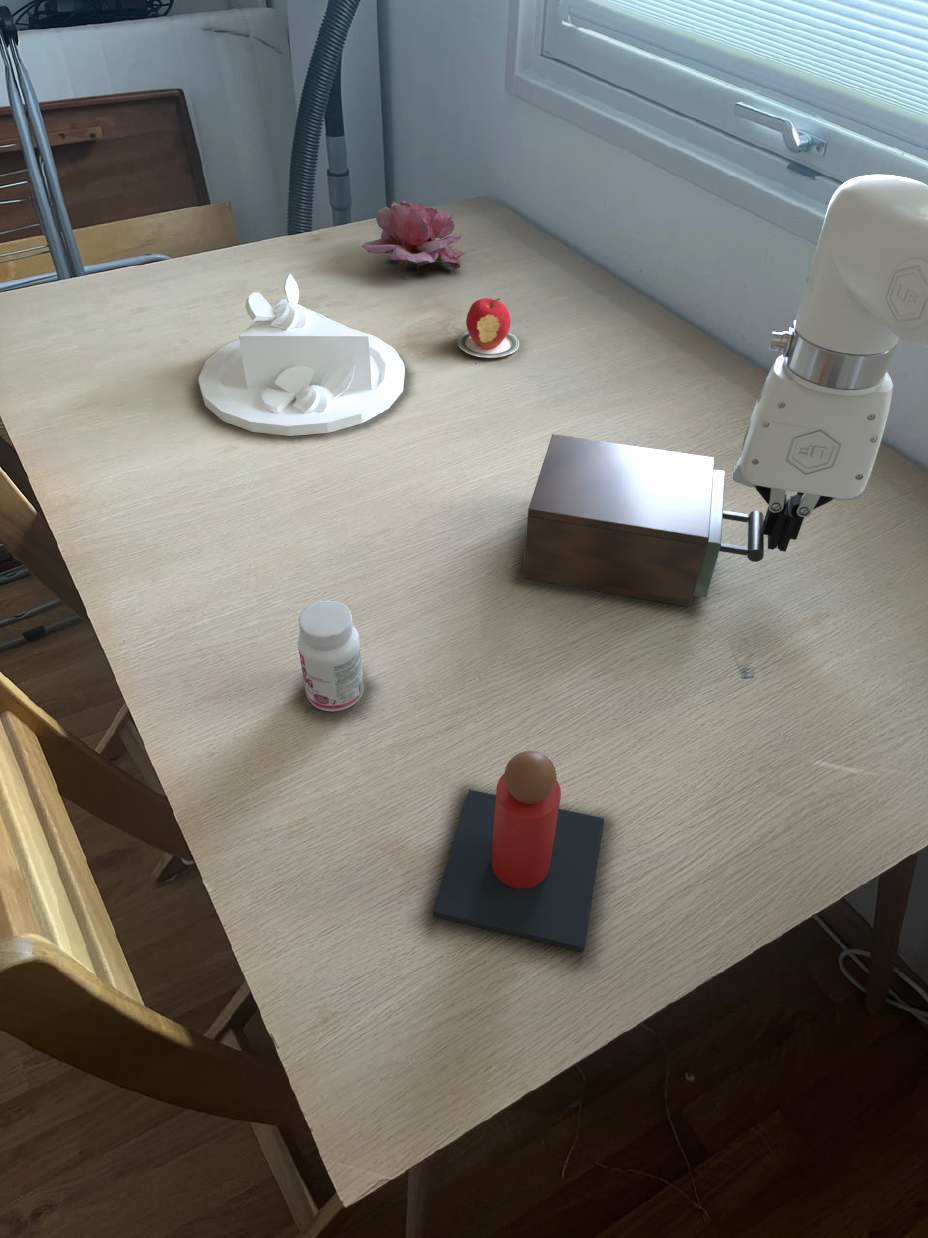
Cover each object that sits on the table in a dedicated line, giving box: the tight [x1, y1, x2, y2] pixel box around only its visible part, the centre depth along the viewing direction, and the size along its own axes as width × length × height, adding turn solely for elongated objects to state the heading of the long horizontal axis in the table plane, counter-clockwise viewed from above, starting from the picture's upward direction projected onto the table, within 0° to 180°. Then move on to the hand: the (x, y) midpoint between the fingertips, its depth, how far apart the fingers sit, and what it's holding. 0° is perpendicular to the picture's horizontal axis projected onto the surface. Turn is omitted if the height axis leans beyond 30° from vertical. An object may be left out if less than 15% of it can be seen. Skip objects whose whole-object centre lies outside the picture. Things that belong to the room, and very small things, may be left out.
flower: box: [361, 199, 465, 274], centre depth 130 cm, size 15×15×10 cm
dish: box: [197, 273, 406, 437], centre depth 104 cm, size 25×25×11 cm
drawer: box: [693, 468, 765, 599], centre depth 82 cm, size 19×11×6 cm, turn 76°
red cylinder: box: [491, 750, 562, 889], centre depth 56 cm, size 4×4×12 cm
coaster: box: [433, 789, 605, 953], centre depth 60 cm, size 10×10×1 cm
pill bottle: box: [297, 600, 365, 712], centre depth 69 cm, size 5×5×8 cm
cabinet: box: [522, 433, 715, 608], centre depth 83 cm, size 16×13×8 cm
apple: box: [457, 297, 520, 359], centre depth 113 cm, size 8×8×6 cm
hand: (776, 540), depth 80 cm, fingers closed
